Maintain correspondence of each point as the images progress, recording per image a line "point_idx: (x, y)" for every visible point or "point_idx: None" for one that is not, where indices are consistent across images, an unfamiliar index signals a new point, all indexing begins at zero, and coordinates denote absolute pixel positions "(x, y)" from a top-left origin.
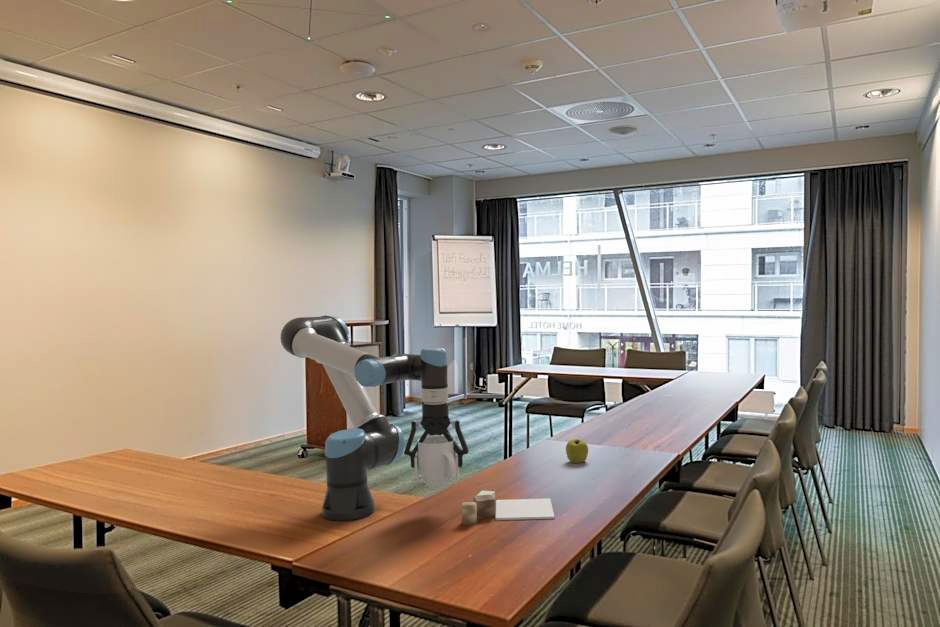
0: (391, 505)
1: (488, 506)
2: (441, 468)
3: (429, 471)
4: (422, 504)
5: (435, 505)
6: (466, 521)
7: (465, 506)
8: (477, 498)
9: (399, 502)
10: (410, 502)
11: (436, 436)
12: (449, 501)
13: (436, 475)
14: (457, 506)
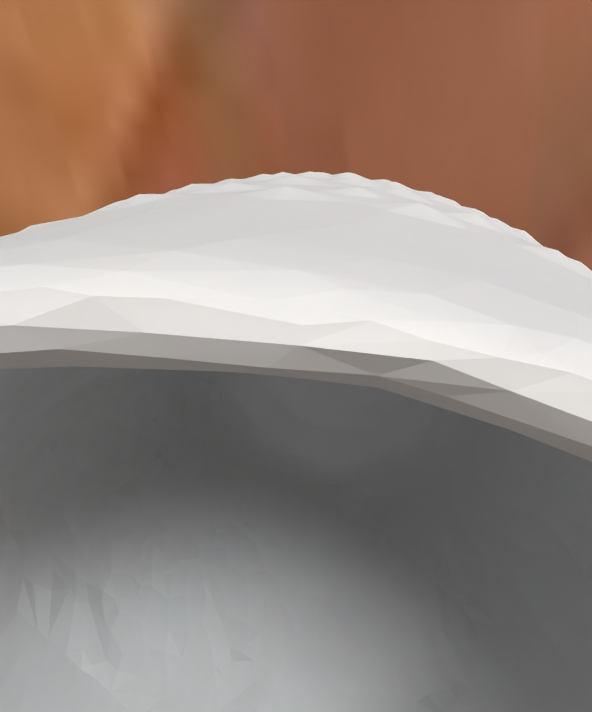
0: (8, 150)
1: None
2: (400, 662)
3: (257, 615)
4: (214, 138)
5: (314, 169)
6: None
7: None
8: None
9: (37, 78)
10: (115, 81)
11: (2, 367)
12: (416, 65)
13: (339, 586)
14: (482, 204)
